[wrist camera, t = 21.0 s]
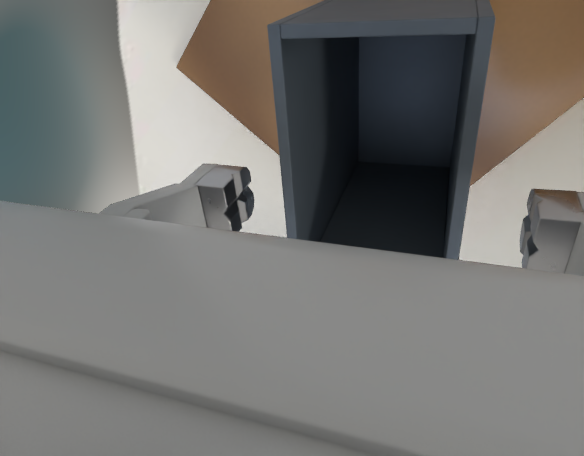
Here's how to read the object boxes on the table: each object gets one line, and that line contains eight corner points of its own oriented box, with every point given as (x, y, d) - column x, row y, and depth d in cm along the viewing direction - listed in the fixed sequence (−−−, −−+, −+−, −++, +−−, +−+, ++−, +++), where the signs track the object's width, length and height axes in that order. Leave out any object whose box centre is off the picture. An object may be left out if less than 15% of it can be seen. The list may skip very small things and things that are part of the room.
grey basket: (266, 24, 13) (291, 286, 18) (496, 16, 11) (450, 312, 16) (352, -13, 22) (353, 164, 27) (482, -21, 20) (456, 171, 25)
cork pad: (407, -373, 16) (406, -381, 16) (732, -23, 18) (738, -23, 18) (179, 65, 28) (175, 67, 27) (390, 245, 30) (389, 249, 30)
